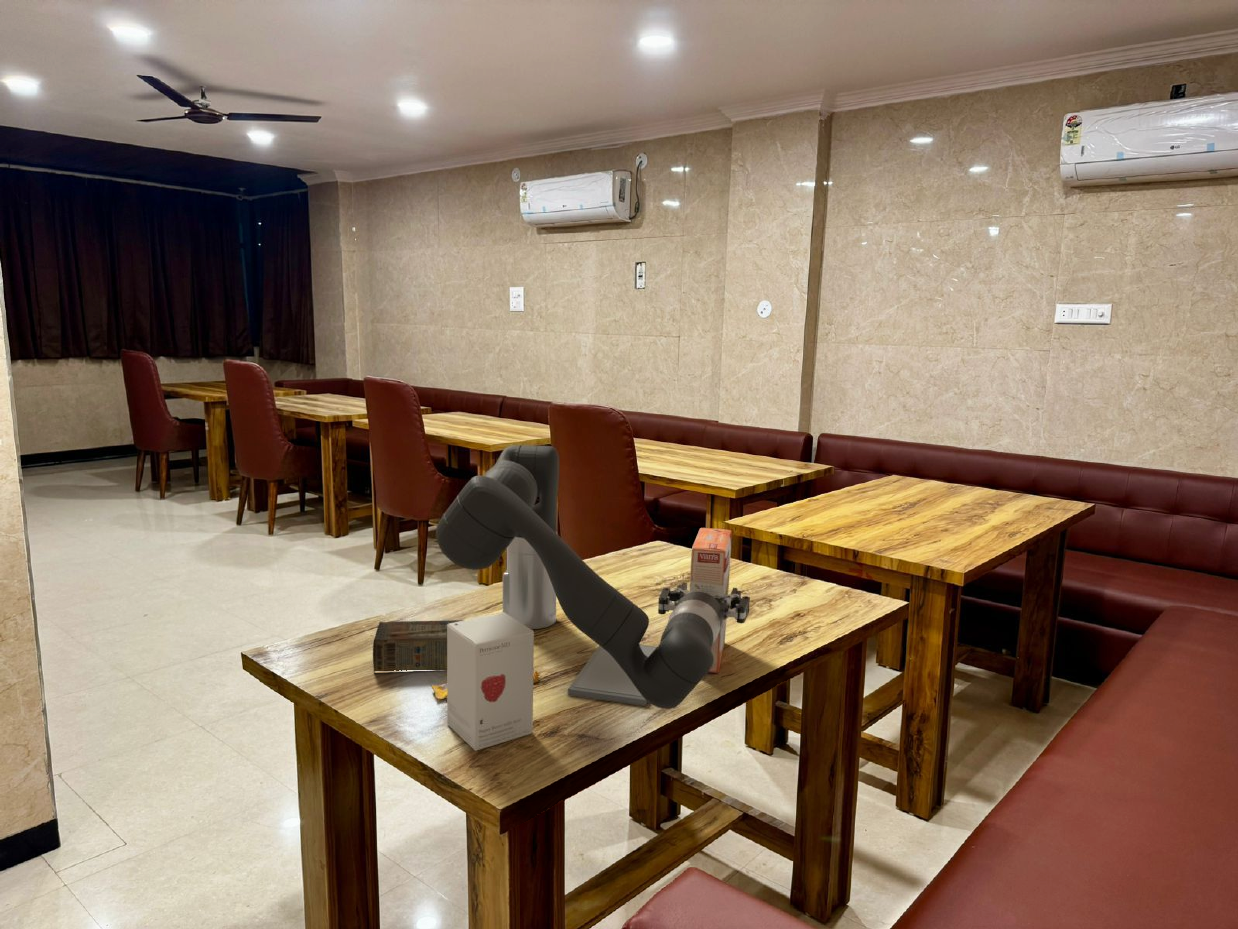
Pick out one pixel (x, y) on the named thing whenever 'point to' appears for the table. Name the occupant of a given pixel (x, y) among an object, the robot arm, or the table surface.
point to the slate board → (607, 680)
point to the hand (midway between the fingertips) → (710, 590)
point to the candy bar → (442, 689)
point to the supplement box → (490, 679)
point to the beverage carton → (411, 645)
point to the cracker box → (712, 575)
